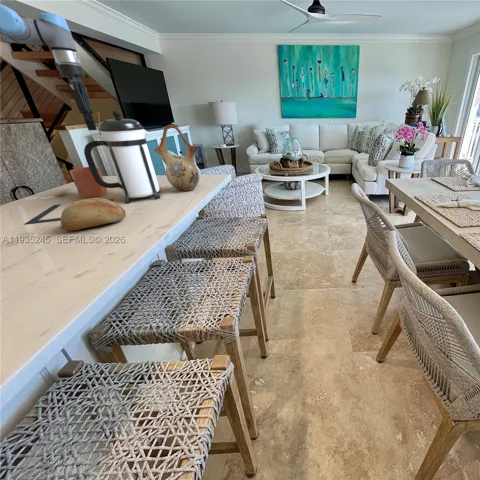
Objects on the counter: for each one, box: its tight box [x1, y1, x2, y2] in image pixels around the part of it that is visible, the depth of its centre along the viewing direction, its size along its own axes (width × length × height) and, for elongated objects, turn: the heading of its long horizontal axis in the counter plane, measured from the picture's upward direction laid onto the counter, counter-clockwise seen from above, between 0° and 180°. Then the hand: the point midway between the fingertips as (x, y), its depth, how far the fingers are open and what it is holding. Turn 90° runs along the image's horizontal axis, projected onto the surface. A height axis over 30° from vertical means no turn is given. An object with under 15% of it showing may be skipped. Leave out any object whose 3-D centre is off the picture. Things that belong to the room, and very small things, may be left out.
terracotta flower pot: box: [68, 166, 109, 199], centre depth 103 cm, size 9×9×10 cm
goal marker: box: [24, 198, 114, 225], centre depth 89 cm, size 18×18×1 cm
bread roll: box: [59, 197, 127, 231], centre depth 76 cm, size 10×15×8 cm, turn 125°
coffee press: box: [83, 109, 161, 204], centre depth 94 cm, size 17×16×30 cm
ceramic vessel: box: [153, 124, 200, 192], centre depth 104 cm, size 16×9×25 cm, turn 99°
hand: (93, 130), depth 113 cm, fingers closed
